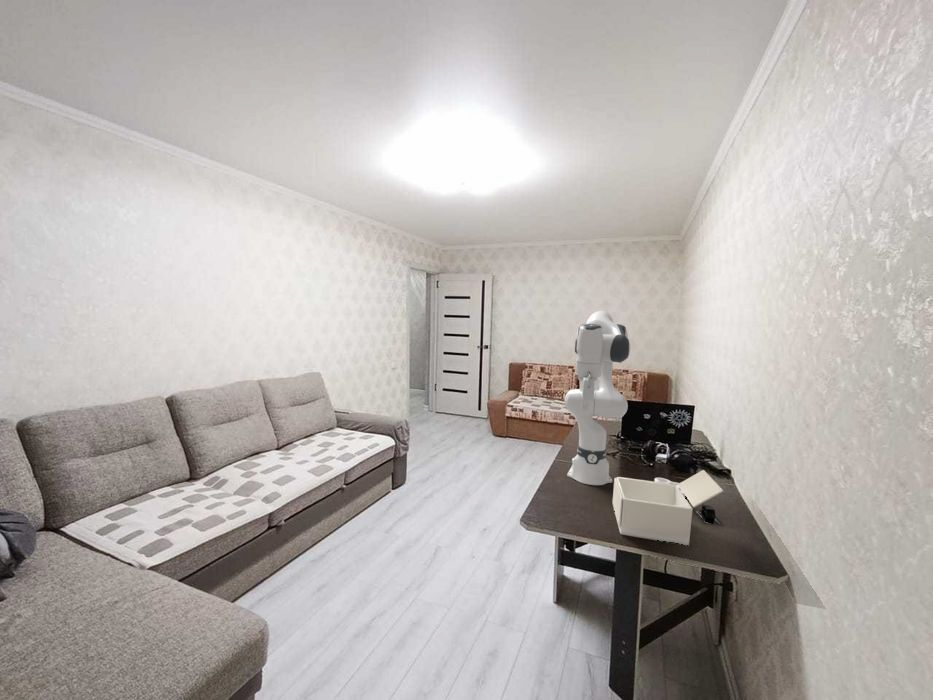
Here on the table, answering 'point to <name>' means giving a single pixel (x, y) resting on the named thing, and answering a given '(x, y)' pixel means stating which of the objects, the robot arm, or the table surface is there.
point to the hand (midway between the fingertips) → (585, 409)
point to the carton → (651, 510)
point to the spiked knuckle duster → (667, 482)
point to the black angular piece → (708, 514)
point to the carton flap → (699, 488)
